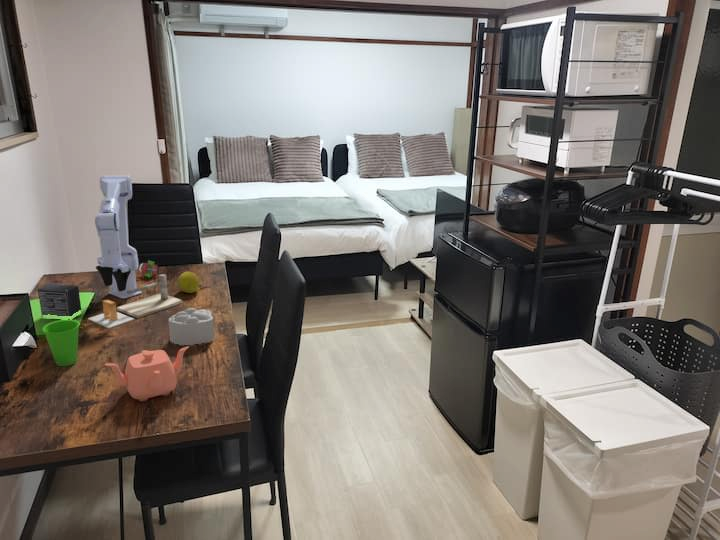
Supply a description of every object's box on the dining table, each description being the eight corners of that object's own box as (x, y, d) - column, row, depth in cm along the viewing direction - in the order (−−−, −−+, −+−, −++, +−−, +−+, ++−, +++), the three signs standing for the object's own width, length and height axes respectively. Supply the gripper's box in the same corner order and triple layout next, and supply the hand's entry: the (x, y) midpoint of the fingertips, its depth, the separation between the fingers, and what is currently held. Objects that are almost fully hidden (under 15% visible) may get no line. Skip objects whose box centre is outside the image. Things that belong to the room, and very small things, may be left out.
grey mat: (87, 319, 173) (87, 318, 173) (113, 311, 180) (112, 310, 180) (109, 328, 167) (108, 327, 167) (134, 319, 174) (134, 318, 174)
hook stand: (117, 309, 182) (113, 282, 179) (161, 295, 196) (159, 270, 193) (138, 318, 175) (135, 290, 172) (182, 302, 190) (180, 276, 187)
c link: (104, 317, 174) (102, 300, 172) (108, 315, 176) (106, 299, 174) (113, 321, 172) (111, 304, 170) (117, 319, 173) (115, 302, 171)
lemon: (199, 296, 197) (198, 276, 194) (177, 297, 195) (176, 277, 192) (200, 286, 207) (199, 267, 204) (179, 287, 205) (178, 268, 202)
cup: (47, 372, 140) (41, 335, 137) (48, 358, 148) (42, 322, 144) (85, 366, 144) (79, 329, 141) (84, 352, 152) (79, 317, 148)
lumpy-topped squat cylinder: (215, 342, 161) (214, 316, 158) (171, 348, 156) (168, 321, 153) (211, 328, 170) (210, 304, 167) (169, 334, 165) (167, 308, 162)
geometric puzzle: (156, 266, 221) (144, 254, 216) (165, 269, 218) (154, 257, 212) (144, 279, 218) (132, 267, 213) (154, 283, 215) (142, 271, 209)
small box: (83, 313, 178) (79, 284, 175) (71, 321, 172) (67, 291, 168) (54, 311, 179) (49, 282, 175) (41, 319, 172) (36, 289, 169)
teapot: (192, 381, 139) (189, 343, 135) (162, 410, 125) (158, 370, 122) (143, 373, 141) (139, 336, 138) (108, 402, 128) (103, 361, 124)
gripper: (86, 247, 171) (91, 286, 175) (112, 256, 164) (117, 296, 168) (106, 243, 177) (111, 280, 181) (132, 251, 169) (136, 290, 173)
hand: (115, 287), depth 175 cm, fingers open, 7 cm apart
